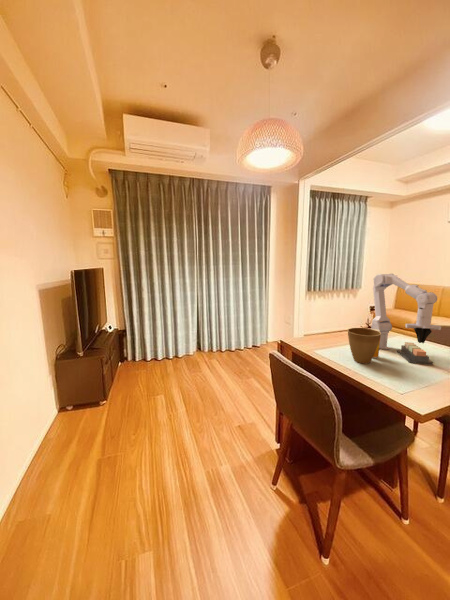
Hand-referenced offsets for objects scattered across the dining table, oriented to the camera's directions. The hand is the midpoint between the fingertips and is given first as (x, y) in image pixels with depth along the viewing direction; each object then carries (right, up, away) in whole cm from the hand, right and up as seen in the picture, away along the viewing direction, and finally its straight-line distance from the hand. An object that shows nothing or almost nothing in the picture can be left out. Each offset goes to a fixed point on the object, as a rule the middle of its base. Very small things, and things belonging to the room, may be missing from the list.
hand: (420, 342), depth 124 cm
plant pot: (-29, -10, +3) cm, 31 cm away
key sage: (+1, -6, +6) cm, 9 cm away
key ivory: (+3, -5, +11) cm, 13 cm away
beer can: (-20, -9, +9) cm, 24 cm away
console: (+1, -9, +7) cm, 12 cm away
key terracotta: (0, -7, +1) cm, 7 cm away
